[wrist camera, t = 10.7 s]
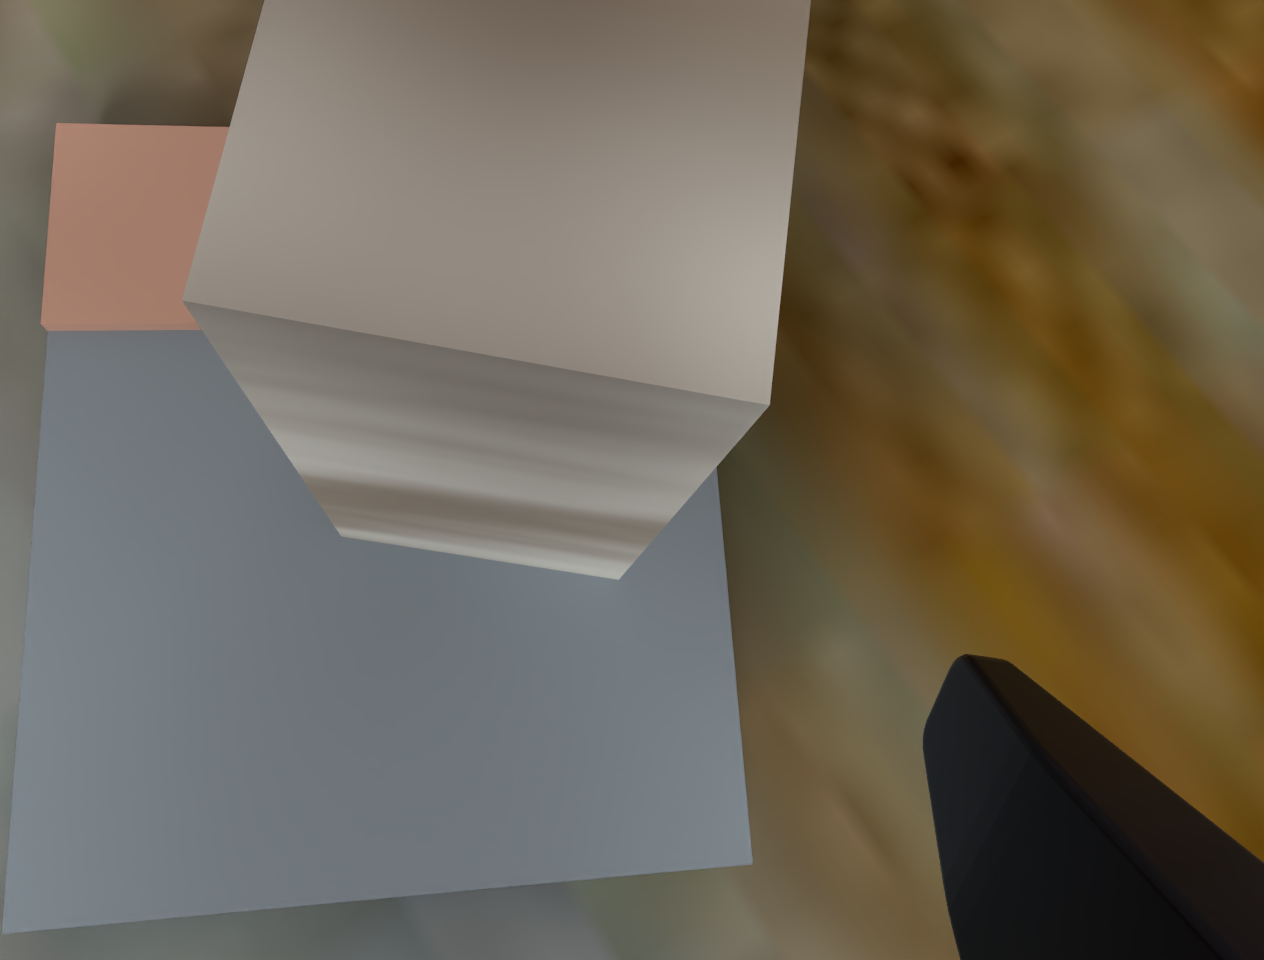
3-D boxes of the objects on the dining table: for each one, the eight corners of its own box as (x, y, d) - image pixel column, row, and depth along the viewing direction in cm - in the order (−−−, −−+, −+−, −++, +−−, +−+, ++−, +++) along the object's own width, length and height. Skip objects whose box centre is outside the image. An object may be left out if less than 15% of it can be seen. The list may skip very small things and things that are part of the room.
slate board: (738, 857, 18) (756, 866, 17) (29, 922, 17) (-7, 937, 15) (677, 172, 22) (689, 138, 21) (83, 161, 20) (55, 122, 19)
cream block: (618, 579, 18) (770, 405, 9) (341, 536, 18) (181, 301, 8) (652, 329, 20) (816, -60, 10) (395, 281, 19) (313, -176, 10)
